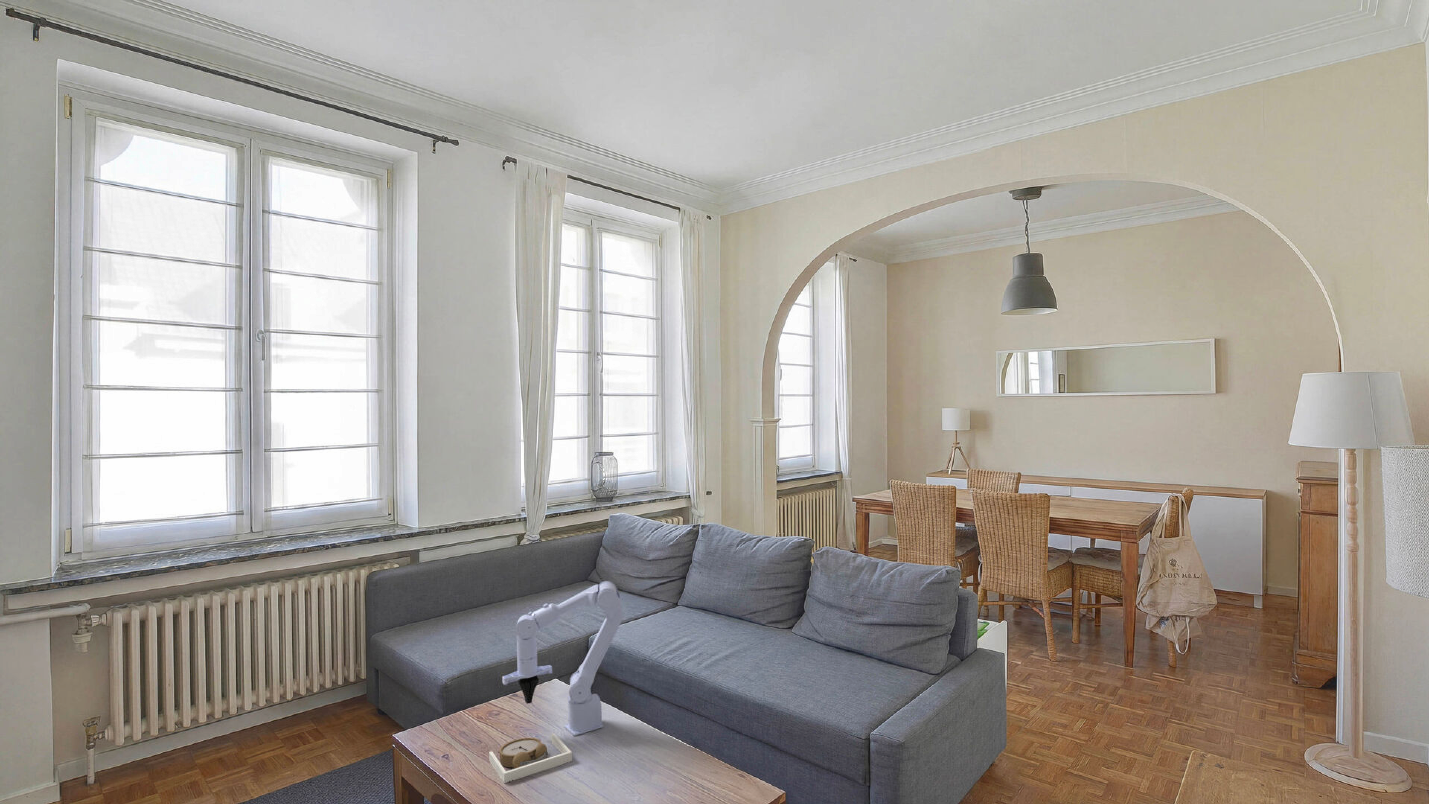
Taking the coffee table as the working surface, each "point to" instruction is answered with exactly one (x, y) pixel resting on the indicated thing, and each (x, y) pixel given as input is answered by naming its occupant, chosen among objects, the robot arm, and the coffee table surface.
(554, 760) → the clock dock
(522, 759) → the alarm clock
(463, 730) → the coffee table surface
